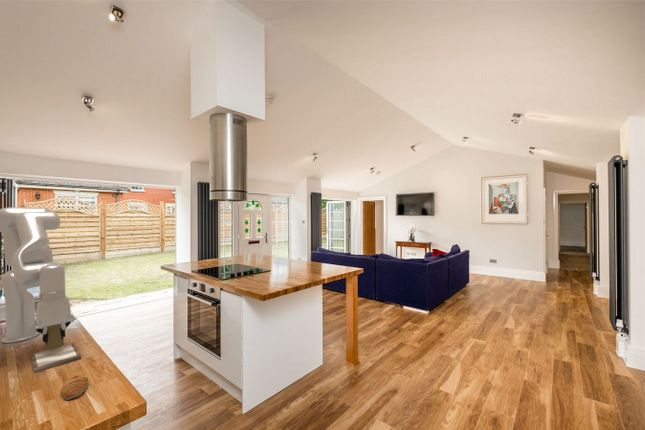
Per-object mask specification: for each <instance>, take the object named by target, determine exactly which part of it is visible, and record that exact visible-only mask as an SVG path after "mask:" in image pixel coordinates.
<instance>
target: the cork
mask: <svg viewBox="0 0 645 430" xmlns="http://www.w3.org/2000/svg"><path fill="white" fill-rule="evenodd" d="M47 334H48V343H47V344H46V342H43V343H44V344H43V351H45V350H53V349H57V348H60V347H62V346H64V345H65V341H64V339H63V340H62V337H61V324H58V325H53V326H49V327H47Z"/></svg>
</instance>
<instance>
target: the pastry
mask: <svg viewBox="0 0 645 430" xmlns="http://www.w3.org/2000/svg"><path fill="white" fill-rule="evenodd" d="M88 383H89V379H88V378H87V377H86V376H85V375H83V374H77V375H73V376H72V377H69V378H68V379H67V380H66V381H65V382H64V383H63V385H62V387H61V388H60V395H61V396H62V398H63V399H64V400H66V401H69V400H72V399H74V398H78V397H80V396H81V395H82V394H83V393H84V392H85V391H86V390H87V389H88V385H89V384H88Z"/></svg>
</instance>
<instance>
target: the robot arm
mask: <svg viewBox="0 0 645 430" xmlns="http://www.w3.org/2000/svg"><path fill="white" fill-rule="evenodd" d="M60 226H61V218H60V215H59V214H58V213H57V212H56V211H55V210H52V209H50V208H48V207H42V206H41V207H39V206H37V207H36V206H35V207H29V206H28V207H27V206H19V207H18V206H17V207H16V206H14V207H12V206H11V207H4V208H3V207H2V208H0V233H1V235H2V238H3V252H4V261H5V263H6V265H7V266H9V267H11V270H8V271H6V272H5V273H3V274H2V276H1V278H0V279H1V280H0V282H1V285H2V289H3V293H4V306H5V307H4V308H5V310H4V311H5V336H4V337H2V338H1V339H0V341H1V343H3V344H13V343H19V342H23V341H27V340H30V339H33V338H36V337H38V336H39V335H40V334H42V342H43V343H45V342H46V344H47V343H48V334H47V327H49V326H53V325H58V324H61V326H60V327H61V337H62V340H63V341H64V338H65V337H66V329H68V328H67V327H69V326H70V325H71V324H72V323H73V322H75V321H76V320H77V318H76V317H75V316H74V315H73V313H72V311H71V310H72V309H71V303H70V299H69V296H67V295H66V276H65V275H66V270H65V269H66V268H65V266H64V264H62V263H59V262H57V261H54V256H53V250H52V248H51V246H50V245H49V243H50V239H49V237H48V233H47V231H50V230H51V231H52V230H53V231H54V230H58V229H59V227H60ZM37 287H39V292H38V293H39V294H36V295H34V294H32V293H31V292H30V291H28V290H29V289H32V288H33V289H34V288H37ZM36 300H38V301H37V303H36ZM36 304H37V305H36Z"/></svg>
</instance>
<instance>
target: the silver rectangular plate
mask: <svg viewBox="0 0 645 430" xmlns="http://www.w3.org/2000/svg"><path fill="white" fill-rule="evenodd" d="M30 359H31V363H32V368H33V369H32V370H33V373H34V374H35V373H39V372H43V371H46V370H48V369H52V368H56V367H58V366H62V365H65V364H69V363H72V362H76V361H79V360H81V359H82V356H81V353H80V352H79V350H78V348H77V347H76V345H75V344H74V343H69V344H64V345H63V346H62V347H60V348H57V349H53V350H42V351H39V352H34V353H30Z"/></svg>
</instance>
